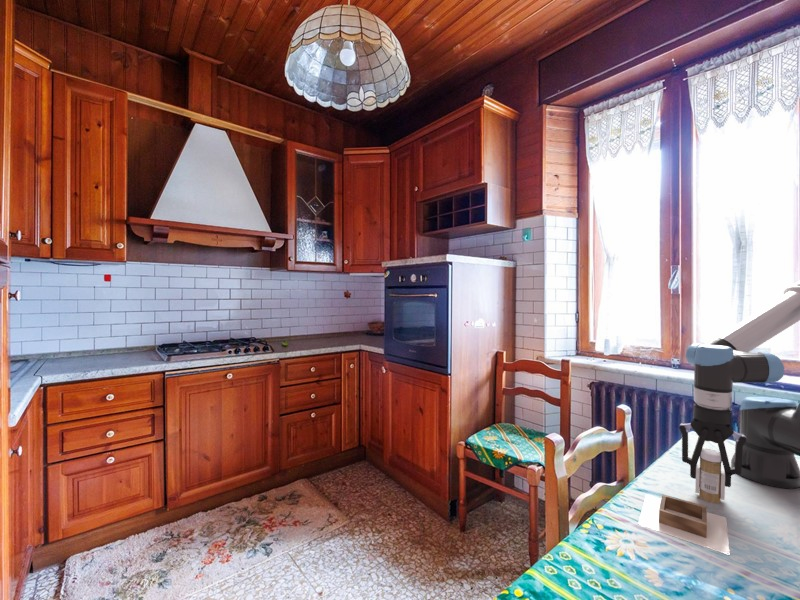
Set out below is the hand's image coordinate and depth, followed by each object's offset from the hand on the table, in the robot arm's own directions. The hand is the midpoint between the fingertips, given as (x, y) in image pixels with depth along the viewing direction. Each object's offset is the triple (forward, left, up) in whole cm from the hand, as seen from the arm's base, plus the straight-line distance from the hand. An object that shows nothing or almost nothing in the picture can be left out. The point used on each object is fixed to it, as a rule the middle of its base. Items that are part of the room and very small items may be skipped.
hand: (709, 493), depth 97 cm
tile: (+5, +16, -2) cm, 17 cm away
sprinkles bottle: (0, 0, -2) cm, 2 cm away
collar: (+5, +16, -1) cm, 17 cm away
